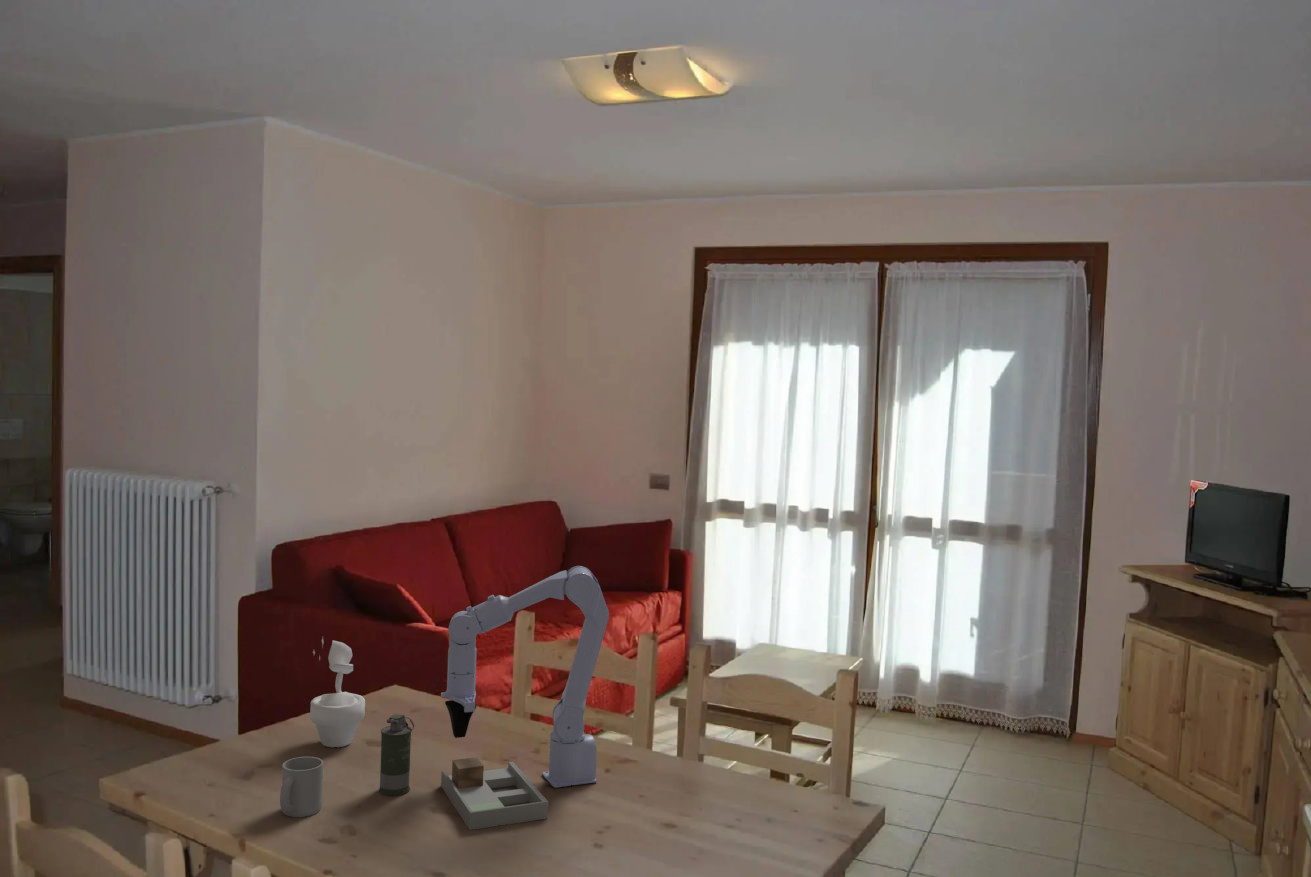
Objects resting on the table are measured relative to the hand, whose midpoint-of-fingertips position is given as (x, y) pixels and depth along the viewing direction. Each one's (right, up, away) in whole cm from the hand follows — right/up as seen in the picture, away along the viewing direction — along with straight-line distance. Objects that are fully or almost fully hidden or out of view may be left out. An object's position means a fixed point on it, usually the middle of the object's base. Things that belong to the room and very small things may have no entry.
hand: (459, 736), depth 210 cm
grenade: (-12, -9, -6) cm, 16 cm away
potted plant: (-31, -7, +18) cm, 36 cm away
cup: (-27, -9, -19) cm, 34 cm away
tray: (+8, -10, -10) cm, 16 cm away
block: (+3, -8, -6) cm, 10 cm away
